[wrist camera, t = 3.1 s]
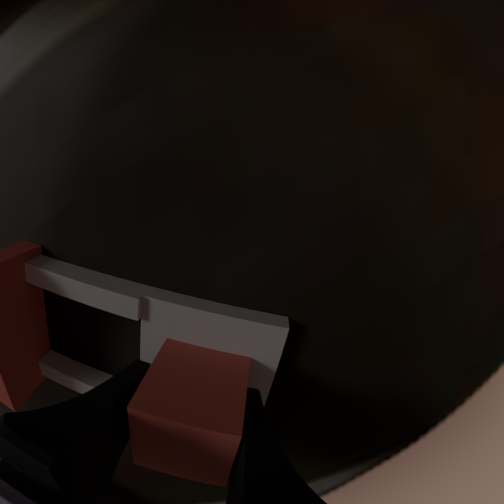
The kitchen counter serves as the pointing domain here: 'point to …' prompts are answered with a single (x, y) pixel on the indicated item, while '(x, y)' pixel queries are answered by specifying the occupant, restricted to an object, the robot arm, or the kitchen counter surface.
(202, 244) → the kitchen counter surface
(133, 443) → the white rails red ends
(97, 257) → the kitchen counter surface
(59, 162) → the kitchen counter surface
